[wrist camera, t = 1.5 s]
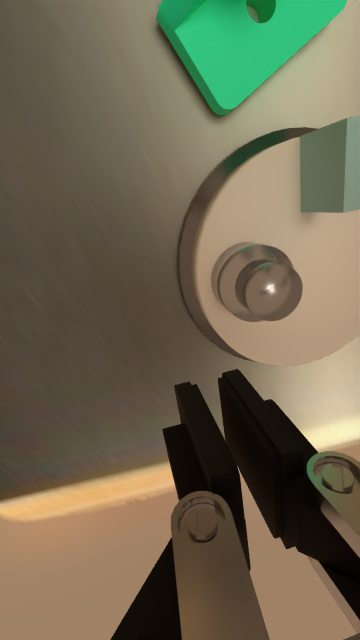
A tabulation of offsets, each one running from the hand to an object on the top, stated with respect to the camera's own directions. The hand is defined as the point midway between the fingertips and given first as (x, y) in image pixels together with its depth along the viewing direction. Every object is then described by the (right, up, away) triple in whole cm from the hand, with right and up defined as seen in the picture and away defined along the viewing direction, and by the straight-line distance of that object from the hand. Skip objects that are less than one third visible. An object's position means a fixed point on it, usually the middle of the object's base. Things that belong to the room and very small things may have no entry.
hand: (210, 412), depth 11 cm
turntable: (+10, +9, +18) cm, 23 cm away
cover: (+4, +7, +15) cm, 17 cm away
